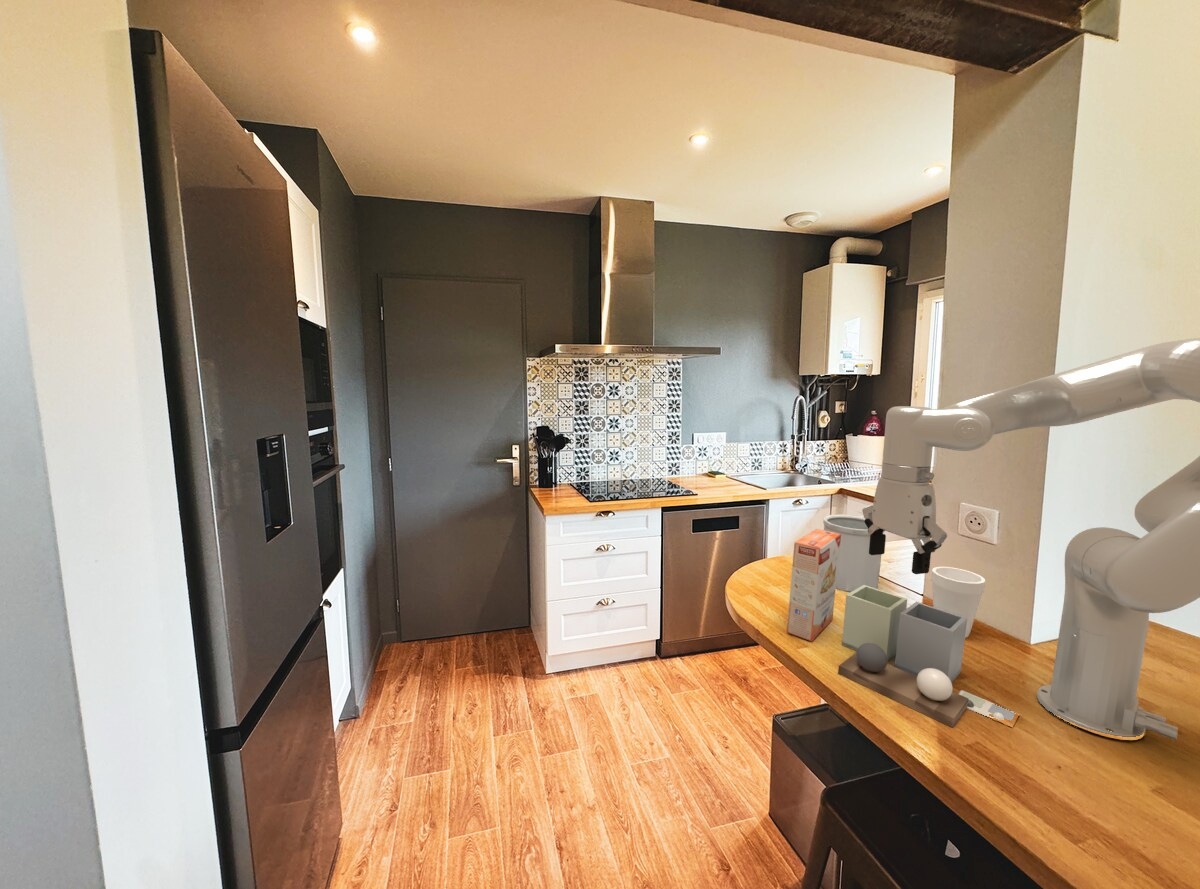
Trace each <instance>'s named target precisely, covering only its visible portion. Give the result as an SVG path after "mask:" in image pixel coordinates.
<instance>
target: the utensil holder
mask: <svg viewBox="0 0 1200 889" xmlns="http://www.w3.org/2000/svg"><path fill="white" fill-rule="evenodd" d="M822 522H823V526H824V527H823V530H824V531H830V532H835V533H838V534H841V541H840V551H839V560H838V570H837V581H836V589H837V590H840V591H844V592H848V593H850V592H852V591H854V590H856V589H857V588H859V587H861V586H863V585H866V586H869V587H872V588H876V589H878V587H879V580H880V570H881V562H882V554H881V555H870V554H869V544H870V535H871V534H869V533H868V527H867V526H866V524H865V518H864V516H861V515H853V514H829V515H826V516H824V518H823V521H822ZM882 534H884V533H882Z"/></svg>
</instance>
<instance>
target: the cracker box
mask: <svg viewBox="0 0 1200 889" xmlns="http://www.w3.org/2000/svg"><path fill="white" fill-rule="evenodd" d="M840 541H841V534H838V533H835V532H830V531H824V529H819V528H816V529H814V530H812V531H810V532H809V533H807V534H806V535H804V536H802V537H800V538H798V539H797V540H795V541H794V543H793V556H792V567H791V577H790V578H791V579H790V590H789V601H788V612H787V613H788V614H787V623H786V624H787V626H786V633H788V634H790V635H792V636H795V637H799V638H801V639H804V640H806V641H809V642H811V643H812V642H814V640H815V639H816V638H817V637H818V636H819V634H821V632H822V631H823V630H824V629H825V628H826V627H827V626H828V625H829V624H830V623H831V622H832V621H833V618H834V609H835V608H834V606H835V598H836V589H837V588H836V581H837V570H838V560H839V551H840Z"/></svg>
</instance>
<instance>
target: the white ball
mask: <svg viewBox="0 0 1200 889" xmlns="http://www.w3.org/2000/svg"><path fill="white" fill-rule="evenodd" d="M917 685H918V688H919V690H920V691H921V692H922V693H923V694H924V695H925V696H926V697H928V698H929V699H932V700H935V701H943V700H946V699H948V698H949V697H950V696H951V694H952V692H953V690H954V689H953V682H952V683H951V681H950V679H949V678H948V677H947V675H945V674H944V673H943V672H941V671H940V670H937V669H934V668H926V669H923V670H922V671H920V672H919V674H918V676H917Z"/></svg>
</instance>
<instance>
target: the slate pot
mask: <svg viewBox="0 0 1200 889" xmlns="http://www.w3.org/2000/svg"><path fill="white" fill-rule="evenodd" d="M966 625H967V618H966V617H963V616H960V615H957V614H954V613H951V612H947V611H944V610H941V609H938V608H935V607H933V606H932V605H929V604H928V605H927V604H925V603H922V602H919V601H915V602H914V603H912V604H911V605H910V606H909V607H906V610H904V611H903V612H902V613H900V620H899V630H898V640H897V649H896V655H895V661H894V667H896V668H898V669H901V670H903V671H905V672H908V673H910V674H912V675H915V676H918V674H919V672H920V671H922V670H923V669H926V668H934V669H937V670H940V671H941V672H943V673H944V674H945V675H947V677H948V678H949V679H950V681H951V683H952V684H953V682H954V681H955V680H956V679H957V677H958V676H959V675H960V674H961V672H962V666H963V665H962V664H963V655H964V647H965V640H966V638H965V633H966Z"/></svg>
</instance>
